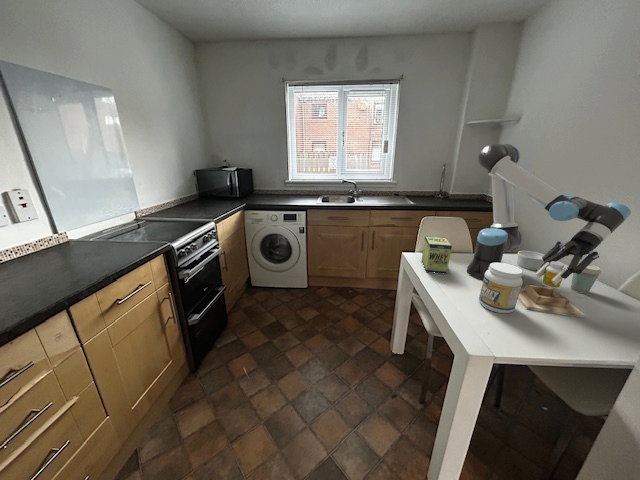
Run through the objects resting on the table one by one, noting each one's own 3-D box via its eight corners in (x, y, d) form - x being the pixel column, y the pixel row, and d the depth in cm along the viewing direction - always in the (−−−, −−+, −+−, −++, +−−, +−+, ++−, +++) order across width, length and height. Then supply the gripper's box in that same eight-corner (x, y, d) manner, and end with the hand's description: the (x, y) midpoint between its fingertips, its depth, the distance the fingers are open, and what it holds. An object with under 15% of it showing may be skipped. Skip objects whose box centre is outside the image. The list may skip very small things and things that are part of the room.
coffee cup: (598, 296, 109) (608, 271, 105) (575, 294, 111) (584, 269, 107) (582, 286, 117) (591, 263, 113) (561, 285, 119) (569, 261, 115)
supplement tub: (471, 301, 104) (479, 264, 99) (490, 295, 109) (499, 259, 104) (501, 317, 94) (512, 277, 88) (521, 310, 98) (533, 271, 93)
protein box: (425, 272, 130) (429, 244, 126) (420, 261, 145) (424, 235, 140) (447, 274, 128) (452, 246, 123) (440, 262, 143) (444, 236, 138)
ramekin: (514, 259, 148) (517, 248, 146) (543, 265, 141) (547, 253, 138) (515, 267, 138) (518, 255, 135) (546, 273, 130) (550, 261, 128)
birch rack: (526, 309, 99) (529, 298, 98) (510, 289, 114) (512, 280, 112) (582, 317, 94) (587, 306, 93) (558, 296, 109) (561, 286, 107)
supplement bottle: (538, 282, 104) (544, 260, 101) (550, 282, 104) (556, 260, 101) (550, 288, 98) (557, 266, 95) (563, 288, 99) (570, 265, 96)
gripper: (623, 250, 91) (575, 295, 92) (566, 236, 108) (526, 274, 109) (618, 237, 88) (569, 284, 89) (560, 224, 105) (519, 264, 107)
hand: (545, 278), depth 99 cm, fingers closed on supplement bottle, 5 cm apart
